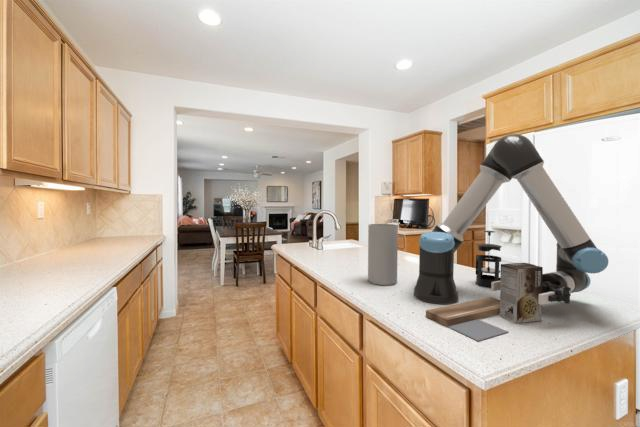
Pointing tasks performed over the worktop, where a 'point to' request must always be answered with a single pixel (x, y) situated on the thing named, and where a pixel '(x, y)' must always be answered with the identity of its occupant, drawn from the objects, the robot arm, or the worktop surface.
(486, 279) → the french press
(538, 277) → the coffee box
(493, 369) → the worktop surface
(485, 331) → the end pad
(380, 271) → the cylinder vase
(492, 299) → the walnut board
